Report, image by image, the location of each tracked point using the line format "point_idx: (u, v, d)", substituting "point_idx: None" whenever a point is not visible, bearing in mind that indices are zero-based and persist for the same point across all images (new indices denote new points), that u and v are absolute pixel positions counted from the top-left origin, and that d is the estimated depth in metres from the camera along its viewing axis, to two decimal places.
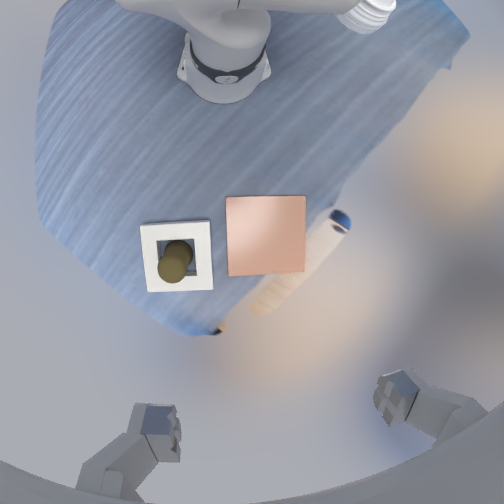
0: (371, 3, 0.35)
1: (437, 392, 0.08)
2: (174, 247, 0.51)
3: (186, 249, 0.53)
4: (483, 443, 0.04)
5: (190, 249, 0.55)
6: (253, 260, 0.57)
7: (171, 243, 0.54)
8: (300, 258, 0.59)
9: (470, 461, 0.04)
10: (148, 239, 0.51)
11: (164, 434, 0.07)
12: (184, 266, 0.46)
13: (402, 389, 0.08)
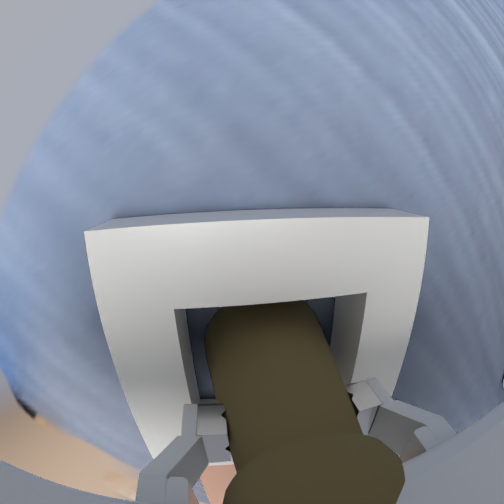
0: None
1: (401, 408, 0.07)
2: None
3: None
4: (483, 443, 0.04)
5: None
6: None
7: None
8: None
9: (470, 461, 0.04)
10: (377, 254, 0.10)
11: (222, 433, 0.07)
12: None
13: (361, 402, 0.08)
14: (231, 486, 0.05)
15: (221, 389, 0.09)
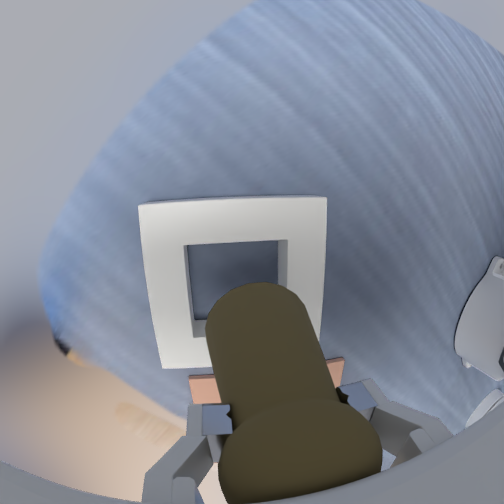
0: None
1: (397, 409, 0.07)
2: None
3: None
4: (483, 443, 0.04)
5: None
6: None
7: None
8: None
9: (470, 461, 0.04)
10: (292, 218, 0.20)
11: (227, 433, 0.07)
12: None
13: (357, 403, 0.08)
14: (226, 443, 0.07)
15: (220, 367, 0.11)
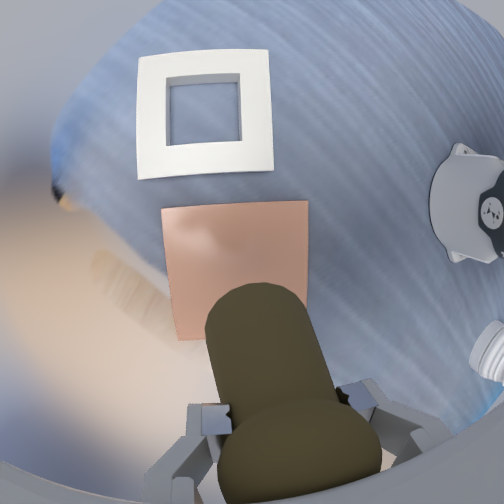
0: None
1: (397, 409, 0.07)
2: None
3: None
4: (483, 443, 0.04)
5: None
6: (193, 254, 0.30)
7: (309, 319, 0.14)
8: (200, 333, 0.33)
9: (470, 461, 0.04)
10: (242, 60, 0.23)
11: (227, 433, 0.07)
12: None
13: (357, 403, 0.08)
14: (225, 444, 0.07)
15: (219, 367, 0.11)
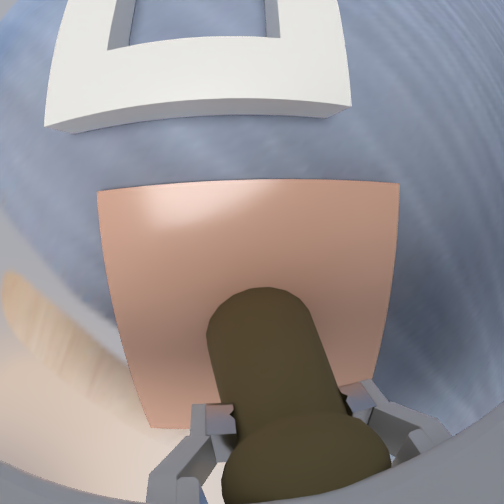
0: None
1: (395, 410, 0.07)
2: None
3: None
4: (483, 443, 0.04)
5: None
6: (166, 289, 0.14)
7: None
8: (187, 421, 0.16)
9: (470, 461, 0.04)
10: None
11: (231, 433, 0.07)
12: None
13: (356, 404, 0.08)
14: (230, 459, 0.06)
15: (222, 376, 0.10)
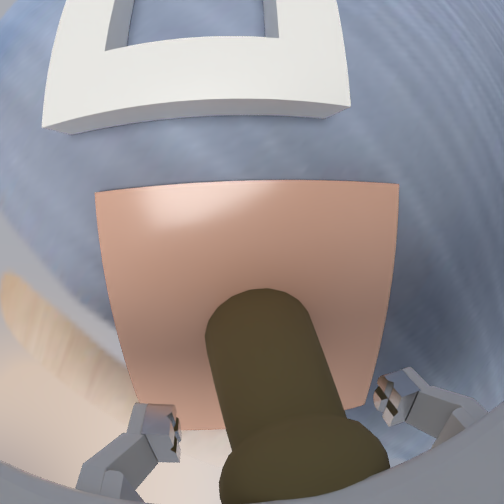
0: None
1: (437, 392, 0.08)
2: None
3: None
4: (483, 443, 0.04)
5: None
6: (164, 290, 0.14)
7: None
8: (186, 422, 0.16)
9: (470, 461, 0.04)
10: None
11: (164, 434, 0.07)
12: None
13: (402, 389, 0.08)
14: (227, 461, 0.06)
15: (220, 378, 0.10)
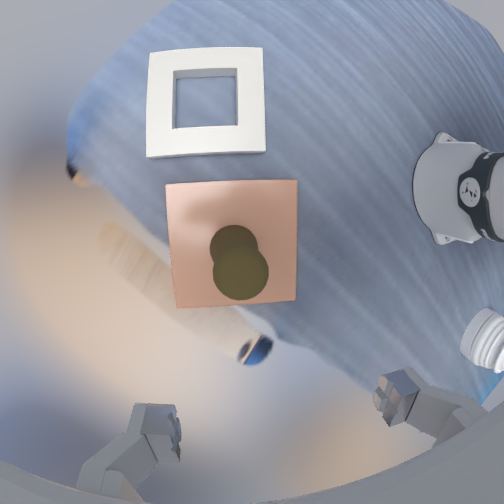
0: None
1: (437, 393, 0.08)
2: None
3: None
4: (483, 443, 0.04)
5: None
6: (193, 225, 0.34)
7: (256, 240, 0.34)
8: (197, 301, 0.36)
9: (470, 461, 0.04)
10: (239, 56, 0.27)
11: (164, 434, 0.07)
12: None
13: (402, 389, 0.08)
14: (215, 259, 0.26)
15: (215, 250, 0.30)
